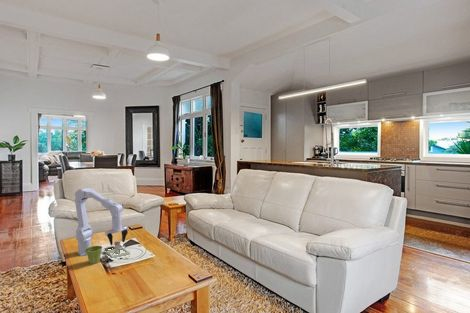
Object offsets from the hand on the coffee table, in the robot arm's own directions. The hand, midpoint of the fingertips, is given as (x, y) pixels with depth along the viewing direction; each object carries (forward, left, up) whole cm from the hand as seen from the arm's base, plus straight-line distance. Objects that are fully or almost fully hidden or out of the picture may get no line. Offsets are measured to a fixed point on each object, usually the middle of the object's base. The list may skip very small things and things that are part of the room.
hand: (117, 243), depth 184 cm
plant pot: (-1, -14, -9) cm, 17 cm away
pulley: (-10, +6, -9) cm, 15 cm away
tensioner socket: (-10, -1, -9) cm, 14 cm away
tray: (0, 0, -9) cm, 9 cm away
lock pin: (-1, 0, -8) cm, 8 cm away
